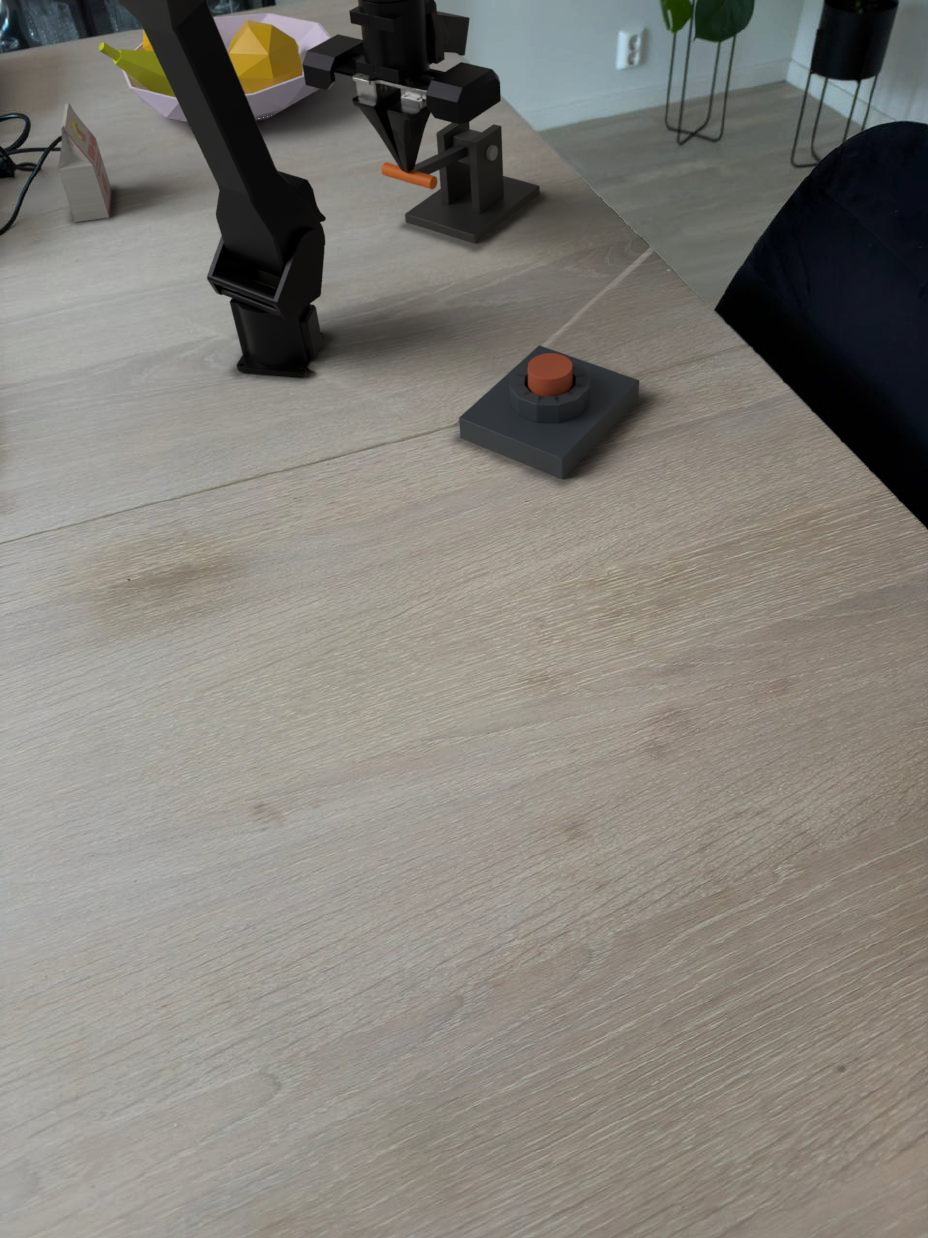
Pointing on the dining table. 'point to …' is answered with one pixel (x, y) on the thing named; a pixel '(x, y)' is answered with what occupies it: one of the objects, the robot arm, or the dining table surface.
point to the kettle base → (472, 189)
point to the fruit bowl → (235, 63)
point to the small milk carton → (83, 170)
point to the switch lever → (434, 162)
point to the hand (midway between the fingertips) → (408, 169)
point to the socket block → (549, 416)
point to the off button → (550, 374)
